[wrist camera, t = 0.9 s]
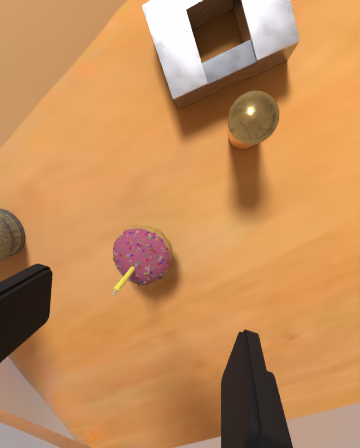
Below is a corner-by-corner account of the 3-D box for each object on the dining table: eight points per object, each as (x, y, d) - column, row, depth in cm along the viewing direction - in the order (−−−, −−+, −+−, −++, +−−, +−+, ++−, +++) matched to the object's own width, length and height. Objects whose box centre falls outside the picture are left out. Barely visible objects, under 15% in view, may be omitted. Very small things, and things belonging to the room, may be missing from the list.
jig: (265, -34, 25) (273, -74, 21) (287, 60, 26) (299, 40, 22) (153, 29, 28) (141, 5, 24) (179, 108, 30) (172, 99, 26)
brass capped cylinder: (256, 108, 28) (271, 81, 20) (265, 143, 29) (284, 133, 20) (221, 122, 29) (221, 103, 21) (231, 156, 30) (235, 151, 22)
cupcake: (165, 277, 36) (139, 327, 25) (119, 255, 37) (74, 294, 26) (185, 232, 34) (168, 265, 23) (136, 209, 34) (95, 229, 23)
